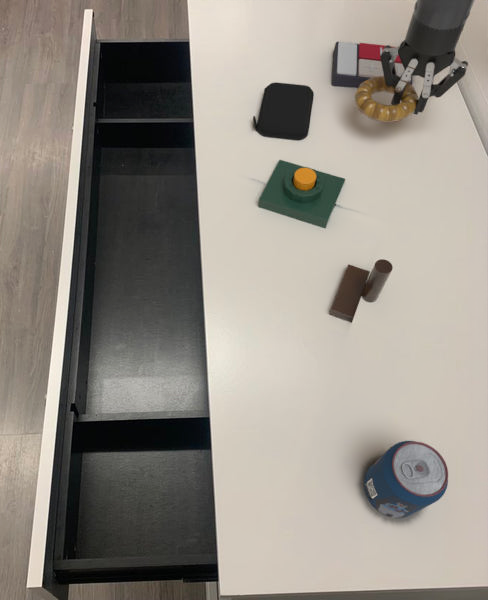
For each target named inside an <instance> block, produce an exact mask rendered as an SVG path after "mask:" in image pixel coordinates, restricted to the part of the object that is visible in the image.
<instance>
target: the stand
mask: <svg viewBox="0 0 488 600" xmlns="http://www.w3.org/2000/svg"><path fill="white" fill-rule="evenodd" d="M393 269H394V268H393V264H392V263H391V261H389V260H388V259H383V258H382V259H378V260H376V261H375V262H374V265H373V267H372V269H371V271H370V270H367V269H364V268H361V267H358V266H355V265H352V264H347V267H346V269H345V271H344V275H343V277H342V280H341V283H340V284H339V287H338V290H337V293H336V296H335V298H334V301H333V304H332V306H331V309H330V311H329V313H328V315H329V316H332V317H335V318H338V319H341V320H343V321H345V322H349V323H351V324H352V323H353V320H354V318H355V315H356V312H357V310H358V307H359V305H360V302H361V298H362V299H363V301H365V302H366V303H375V302H376V301H377V300H378V298H379V297H380V294H381V293H382V290H383V289H384V286H385V285H386V284H387V281H388V279H389V277H390V275H391V273H392V271H393Z"/></svg>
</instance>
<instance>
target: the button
mask: <svg viewBox="0 0 488 600" xmlns="http://www.w3.org/2000/svg"><path fill="white" fill-rule="evenodd" d="M309 168H310V167H308V168H300V169H298V170H297V171H296V172H295V174H294V180H293V184H294V186H295V187H296V188H297V189H299V190H303V191H307V190H310V189H312V188H313V187H314V185H315V181H316V173H315V172H314V171H313V170H312V169H313V168H311V169H309Z"/></svg>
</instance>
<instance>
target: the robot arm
mask: <svg viewBox="0 0 488 600" xmlns="http://www.w3.org/2000/svg"><path fill="white" fill-rule="evenodd" d="M474 3H475V0H416V1H415V3H414V7H413V13H412V15H411V19H410V22H409V24H408V28H407V31H406V35H405V37H404V40H403V41H402V42H400V44H399V45H398V46H393V48H391V46H392V45H390V44H389V45H388V44H386V45H385V47H384V49H383V52H382V54H381V56H380V59H381V64H382V69H383V74H384V78H385V83H386V86H388V87H390V86H392V87H394V89H395V92H394V93H393V96H392V99H391V101H390V105H397V104H399V103H401V98H402V96H403V93H404V90H405V87H406V83H407V82H408V80H409V78H410V76H411V75H412V77H413V76H416V77H417V76H418V77H420V78H422V79H423V83H422V89H421V92H420V94H419V96H418V103H417V105H416V108H415V111H414V112H413V113H412V115H415V116H418V115H419V113H423V112H424V111H425V108H426V106H427V103H428V100H429V99H430V98H432V97H435V98H441V97H442V96H443V95H444V94H445V93H446V92H448V91H449V90H450V89H451V88H452V87H454V86H455V85H456V84H457V83H458V82H459V81H460V80H461V79H462V78H463V77H464V76H465V75H466V73H467V70H468V66H469V62H468V61H466V60H462V61H460V60H459V59H457V58H456V47H457V44H458V42H459V40H460V38H461V36H462V35H461V34H462V33H463V30H464V27H465V25H466V23H467V20H468V18H469V16H470V15H471V10H472V8H473V6H474ZM397 55H399V57H400V60H401V62H402V64H403V67H404V71H403V72H402V74H401V76H400V77H399V76H397V74H396V69H395V63H394V61H395V59H396V57H397ZM448 67H449V70H448V74H447V75H446V76H444V77H443V78H442V79H441V80H440V81H439V82H438V83H435V77H436V75H438V74H440V73H441V72H442V71H444V70H446V69H447V68H448Z"/></svg>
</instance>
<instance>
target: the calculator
mask: <svg viewBox="0 0 488 600" xmlns="http://www.w3.org/2000/svg"><path fill="white" fill-rule="evenodd" d="M385 46H386V45H384V44H377V43H368V42H367V43H365V42H359V43H357V42H349V41H341V40H340V41H336V42H335V44H334V49H333V52H332V64H331V81H330V83H331V84H330V85H331V86H332V87H339V88H351V89H352V88H353V89H358V87H359V85H360V84H361V83H363V82H365V81H366V80H368V79H370V78H372V77H377V76H384V74H383V69H382V64H381V59H380V56H381V54H382V52H383V49H384V47H385ZM390 46H391V48H393V47H394V46H393V45H390ZM394 63H395V69H396V74H397V76H399V77H400V76H401V74H402V72H403V71H404V67H403V64H402V62H401V60H400V57H399V55H397V57H396V59H395V61H394ZM408 83H409V84H411V85H412V86H413V75H411V76H410V78H409V80H408Z"/></svg>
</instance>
